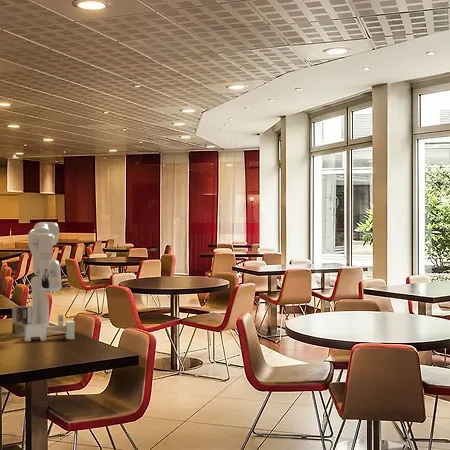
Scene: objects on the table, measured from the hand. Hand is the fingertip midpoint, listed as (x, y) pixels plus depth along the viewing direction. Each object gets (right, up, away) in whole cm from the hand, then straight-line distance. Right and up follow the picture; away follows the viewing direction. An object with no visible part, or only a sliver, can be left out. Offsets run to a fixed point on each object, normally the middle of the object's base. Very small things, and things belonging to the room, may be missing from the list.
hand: (45, 287), depth 366 cm
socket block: (+15, -27, -6) cm, 32 cm away
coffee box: (-13, -27, +1) cm, 30 cm away
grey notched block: (-2, -27, -12) cm, 30 cm away
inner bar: (+7, -24, -9) cm, 26 cm away
